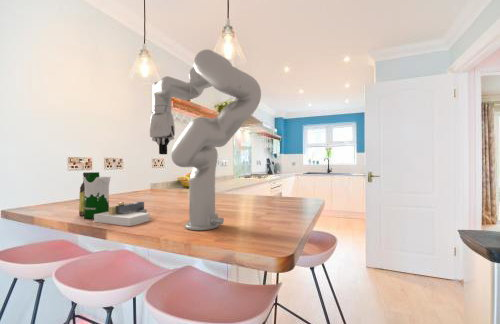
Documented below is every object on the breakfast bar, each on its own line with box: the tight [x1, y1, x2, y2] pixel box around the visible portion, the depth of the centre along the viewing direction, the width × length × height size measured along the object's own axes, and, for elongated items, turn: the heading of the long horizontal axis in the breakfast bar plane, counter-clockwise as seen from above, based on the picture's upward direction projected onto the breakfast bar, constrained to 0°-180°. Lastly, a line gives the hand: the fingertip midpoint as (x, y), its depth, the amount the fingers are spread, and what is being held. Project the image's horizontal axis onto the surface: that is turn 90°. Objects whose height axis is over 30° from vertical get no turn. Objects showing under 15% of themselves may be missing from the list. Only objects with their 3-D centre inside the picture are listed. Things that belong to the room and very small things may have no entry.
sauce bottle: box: [78, 171, 91, 216], centre depth 115 cm, size 6×6×20 cm
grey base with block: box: [93, 205, 151, 227], centre depth 101 cm, size 20×10×6 cm, turn 67°
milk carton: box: [82, 172, 111, 219], centre depth 109 cm, size 9×9×20 cm
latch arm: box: [115, 201, 145, 213], centre depth 105 cm, size 12×4×4 cm, turn 154°
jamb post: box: [130, 208, 148, 213], centre depth 108 cm, size 5×4×3 cm
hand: (163, 154), depth 104 cm, fingers closed
